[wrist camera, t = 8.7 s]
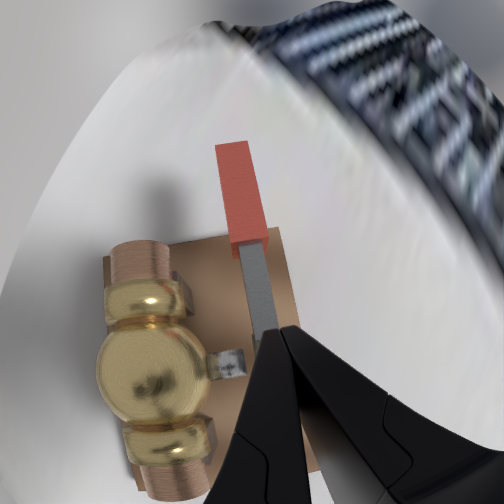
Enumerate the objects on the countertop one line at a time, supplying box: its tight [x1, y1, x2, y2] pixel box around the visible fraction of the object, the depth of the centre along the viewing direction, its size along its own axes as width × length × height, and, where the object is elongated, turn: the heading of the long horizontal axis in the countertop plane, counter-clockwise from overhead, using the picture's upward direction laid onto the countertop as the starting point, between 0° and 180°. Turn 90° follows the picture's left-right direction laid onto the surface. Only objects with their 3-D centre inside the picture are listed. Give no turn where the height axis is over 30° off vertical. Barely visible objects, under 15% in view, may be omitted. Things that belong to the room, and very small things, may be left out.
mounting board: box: [103, 227, 320, 491], centre depth 19 cm, size 16×12×1 cm
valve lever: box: [215, 141, 280, 358], centre depth 14 cm, size 2×2×11 cm
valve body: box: [96, 240, 248, 502], centre depth 14 cm, size 11×6×8 cm, turn 10°
